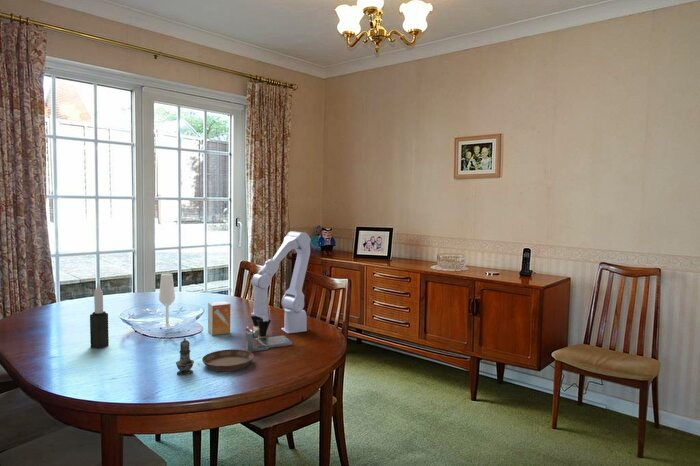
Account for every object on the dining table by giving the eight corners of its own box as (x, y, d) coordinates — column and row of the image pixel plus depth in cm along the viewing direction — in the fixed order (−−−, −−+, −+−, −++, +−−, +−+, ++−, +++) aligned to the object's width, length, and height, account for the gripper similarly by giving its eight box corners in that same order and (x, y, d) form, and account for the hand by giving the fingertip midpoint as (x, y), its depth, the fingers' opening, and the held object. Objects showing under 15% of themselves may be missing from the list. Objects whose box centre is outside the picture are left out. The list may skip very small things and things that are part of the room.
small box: (212, 335, 204) (212, 305, 203) (207, 332, 209) (207, 302, 208) (230, 333, 208) (230, 303, 207) (225, 329, 214) (225, 300, 213)
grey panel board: (283, 338, 203) (283, 321, 202) (293, 346, 193) (293, 328, 192) (239, 343, 194) (239, 326, 193) (248, 352, 184) (248, 334, 183)
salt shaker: (178, 369, 165) (178, 335, 164) (196, 369, 165) (195, 335, 164) (173, 376, 159) (173, 340, 158) (191, 375, 159) (191, 340, 158)
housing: (264, 335, 206) (264, 322, 206) (267, 338, 202) (268, 325, 202) (252, 336, 204) (252, 324, 204) (256, 340, 200) (256, 327, 199)
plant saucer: (199, 359, 175) (199, 351, 175) (248, 354, 182) (248, 346, 182) (205, 377, 159) (205, 368, 159) (258, 370, 166) (258, 361, 166)
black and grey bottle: (110, 345, 189) (108, 282, 187) (99, 349, 184) (98, 284, 182) (99, 343, 190) (98, 281, 188) (89, 347, 186) (87, 283, 183)
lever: (249, 331, 195) (249, 324, 195) (258, 339, 185) (258, 332, 185) (245, 332, 194) (245, 325, 194) (253, 339, 184) (253, 332, 184)
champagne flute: (155, 328, 213) (155, 274, 211) (166, 324, 219) (166, 272, 217) (167, 330, 210) (167, 276, 208) (178, 326, 217) (178, 273, 215)
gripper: (246, 299, 206) (246, 330, 207) (256, 306, 194) (256, 340, 195) (262, 298, 210) (262, 328, 211) (273, 305, 197) (273, 337, 198)
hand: (260, 334), depth 203 cm, fingers open, 6 cm apart
